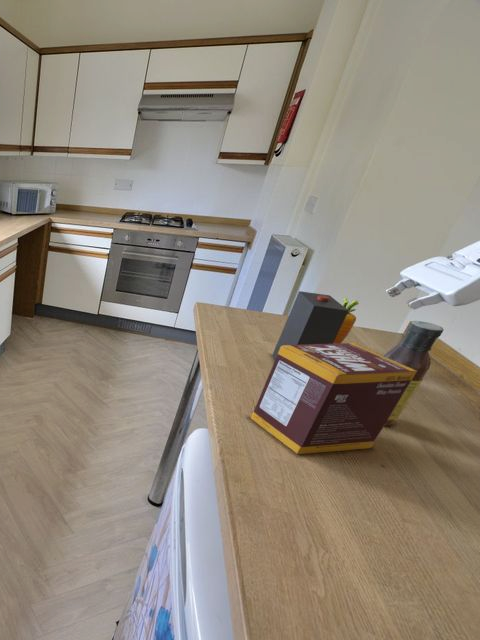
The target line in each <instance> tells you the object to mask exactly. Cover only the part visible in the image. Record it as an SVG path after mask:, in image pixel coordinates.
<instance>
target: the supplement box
mask: <svg viewBox="0 0 480 640" xmlns="http://www.w3.org/2000/svg"><path fill="white" fill-rule="evenodd" d="M416 372H417V371H416V370H414V369H412V368H409V367H407V366H405V365H402V364H400V363H398V362H395V361H393V360H391V359H389V358H386V357H384V355H382V354H379V353H377V352H375V351H373V350H371V349H368V348H365V347H364V346H361V345H359V344H357V343H355V342H344V343H343V342H342V343H340V344H308V345H283V346H281V347H280V350H279V352H278V354H277V357H276V359H274V362H273V364H272V367H271V369H270V371H269V374H268V376H267V379H266V381H265V383H264V386H263V388H262V391H261V393H260V396H259V398H258V399H257V402H256V405H255V406H254V410H253V412H252V414H251V417H250V419H251V420H252V421H253V422H255V423H256V424H257V425H259V426H260V427H261V428H262V429H264V430H265V431H267V432H268V433H269V434H271V435H272V436H273V437H274V438H275V439H277V440H278V441H279V442H281V443H282V444H284V446H286V447H288V448H289V449H290V450H291V451H293V452H294V453H295V454H297V455H304V454H305V455H306V454H317V453H329V452H330V453H331V452H340V451H353V450H365V449H366V450H367V449H371V448H372V447H373V445H374V443H375V441H376V440H377V439H378V437H379V435H380V433H381V431H382V430H383V428H384V427H385V426H386V425H385V423H386V421H387V420H388V418H389V416H390V415H391V413H392V411H393V410H394V408H395V406H396V405H397V403H398V402H399V400H400V398H401V397H402V395H403V393H404V392H405V390H406V388H407V387H408V385H409V383H410V382H411V380H412V379H413V377H414V375H415V373H416Z"/></svg>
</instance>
